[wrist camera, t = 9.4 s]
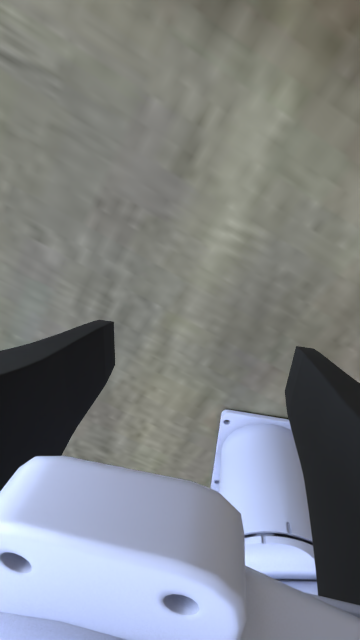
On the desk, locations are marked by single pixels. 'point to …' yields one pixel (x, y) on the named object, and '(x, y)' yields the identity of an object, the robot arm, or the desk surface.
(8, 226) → the desk surface
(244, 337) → the desk surface
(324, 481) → the robot arm
